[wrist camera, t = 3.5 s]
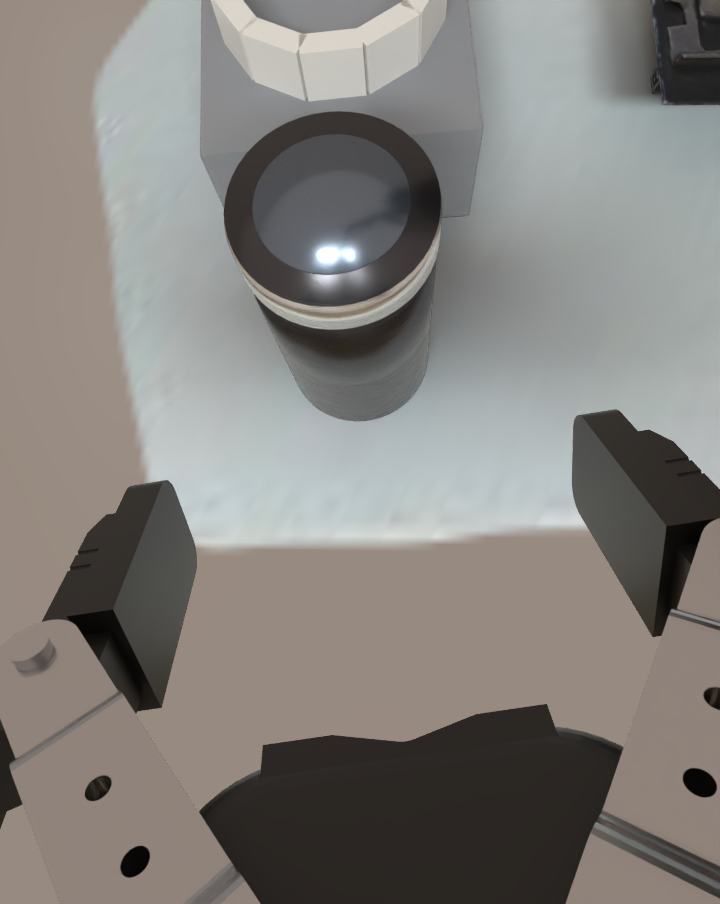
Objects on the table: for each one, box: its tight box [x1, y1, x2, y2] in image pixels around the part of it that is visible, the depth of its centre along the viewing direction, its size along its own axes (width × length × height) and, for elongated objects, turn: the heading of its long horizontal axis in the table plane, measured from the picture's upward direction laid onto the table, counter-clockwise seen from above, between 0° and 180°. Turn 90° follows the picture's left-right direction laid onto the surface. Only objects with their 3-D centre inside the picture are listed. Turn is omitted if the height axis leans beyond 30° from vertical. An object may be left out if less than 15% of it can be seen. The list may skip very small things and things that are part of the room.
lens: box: [224, 111, 442, 421], centre depth 21 cm, size 6×6×10 cm
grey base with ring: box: [200, 0, 483, 218], centre depth 25 cm, size 10×12×7 cm
